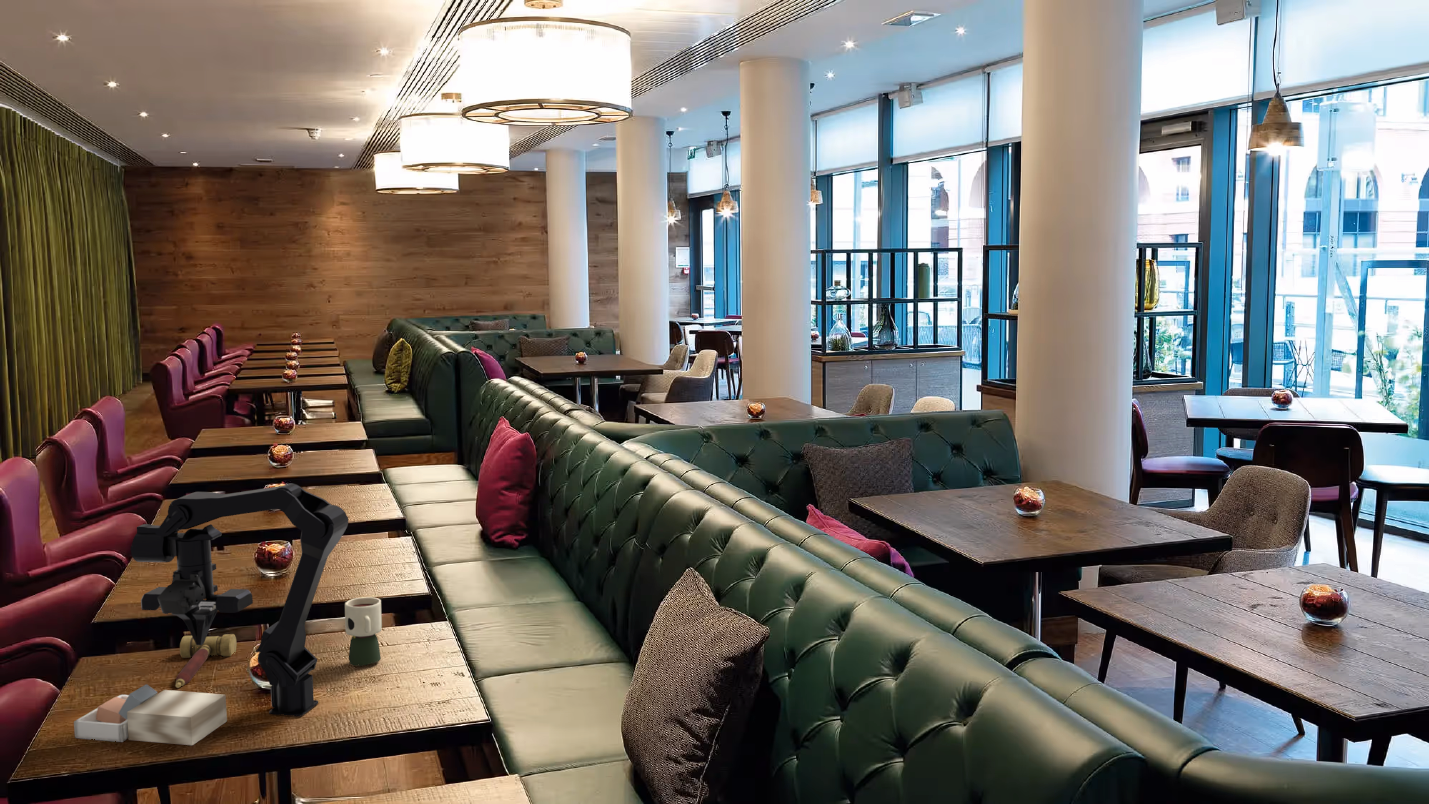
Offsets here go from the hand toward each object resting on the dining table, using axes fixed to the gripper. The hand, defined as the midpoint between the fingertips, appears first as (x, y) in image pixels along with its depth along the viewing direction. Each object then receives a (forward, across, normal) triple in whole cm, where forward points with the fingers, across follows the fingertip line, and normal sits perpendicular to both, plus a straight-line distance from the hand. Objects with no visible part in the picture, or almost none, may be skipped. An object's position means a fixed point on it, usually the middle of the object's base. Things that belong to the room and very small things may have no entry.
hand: (200, 644), depth 204 cm
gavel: (+12, -12, +17) cm, 24 cm away
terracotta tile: (+8, -10, -10) cm, 16 cm away
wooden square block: (+12, +2, -11) cm, 16 cm away
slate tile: (+8, -5, -10) cm, 14 cm away
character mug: (+12, +20, +24) cm, 34 cm away
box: (+12, -9, -10) cm, 18 cm away
